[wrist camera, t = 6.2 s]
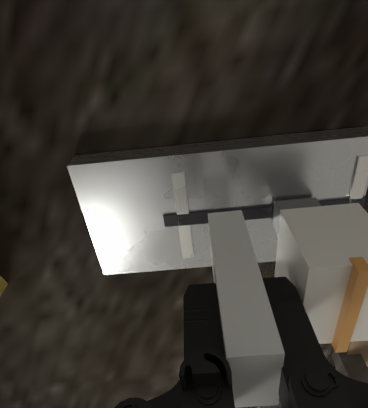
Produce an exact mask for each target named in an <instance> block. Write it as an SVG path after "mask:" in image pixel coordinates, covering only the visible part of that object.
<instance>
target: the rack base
mask: <svg viewBox="0 0 368 408" xmlns="http://www.w3.org/2000/svg"><path fill="white" fill-rule="evenodd" d="M331 358H332V360H333V362H334V364H335V367H336V368H335V369H336V370H337V371H338V372H340V373H341V374H343V375H345V376H347V377H349V378H351V379H354V380H357V381H361V382H365V383H368V341H355V342H350V343H349V346H348V349H347V352H340V353H335V351H334V350H333V353H332V357H331Z"/></svg>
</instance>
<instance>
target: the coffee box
mask: <svg viewBox="0 0 368 408" xmlns="http://www.w3.org/2000/svg"><path fill="white" fill-rule="evenodd" d="M257 408H282V406H281V402H280V401H279V404H278V405H269V406H257Z"/></svg>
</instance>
